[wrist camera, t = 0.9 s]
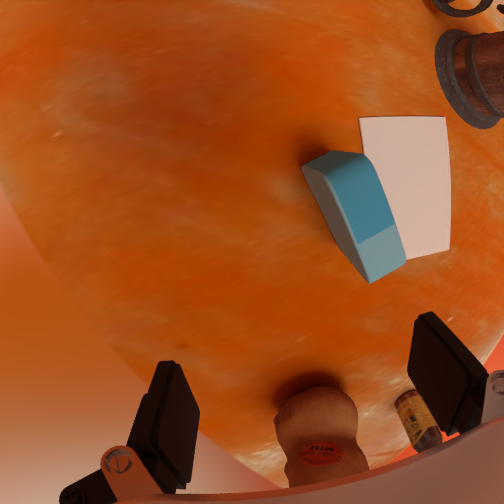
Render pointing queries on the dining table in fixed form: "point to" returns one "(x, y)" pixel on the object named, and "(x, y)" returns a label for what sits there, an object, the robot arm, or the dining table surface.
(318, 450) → the butternut squash
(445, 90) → the tankard
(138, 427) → the robot arm
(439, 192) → the mat
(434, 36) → the dining table surface
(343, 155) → the data package
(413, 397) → the sauce bottle
